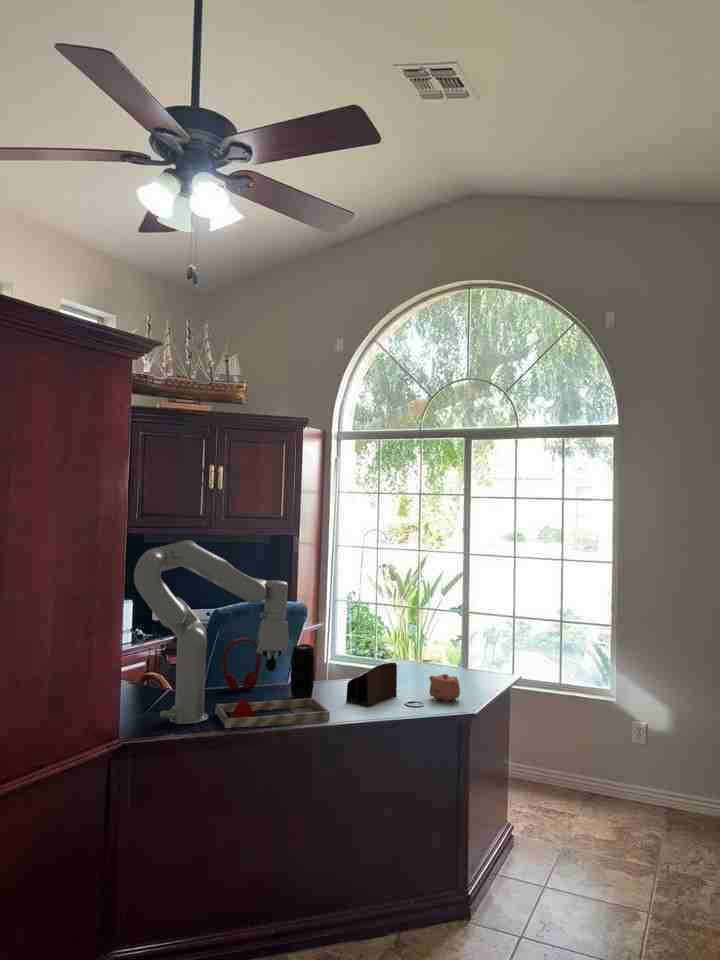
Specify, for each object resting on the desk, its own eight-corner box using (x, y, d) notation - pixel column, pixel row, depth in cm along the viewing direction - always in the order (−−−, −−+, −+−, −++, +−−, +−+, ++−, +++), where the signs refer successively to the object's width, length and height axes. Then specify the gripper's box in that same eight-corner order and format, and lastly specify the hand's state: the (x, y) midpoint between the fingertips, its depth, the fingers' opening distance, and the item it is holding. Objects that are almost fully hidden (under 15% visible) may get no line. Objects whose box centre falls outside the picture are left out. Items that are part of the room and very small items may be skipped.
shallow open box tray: (225, 729, 241) (226, 718, 241) (215, 713, 257) (215, 703, 257) (329, 720, 254) (329, 709, 254) (313, 706, 270) (313, 696, 270)
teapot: (430, 703, 279) (430, 677, 279) (428, 695, 291) (429, 670, 291) (461, 704, 278) (461, 679, 278) (458, 696, 290) (459, 671, 290)
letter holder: (396, 697, 287) (398, 660, 287) (367, 708, 271) (369, 669, 271) (375, 692, 293) (376, 656, 293) (345, 703, 276) (346, 665, 277)
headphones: (224, 694, 283) (226, 641, 283) (219, 689, 289) (221, 638, 289) (261, 690, 289) (263, 639, 290) (255, 686, 296) (257, 635, 296)
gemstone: (233, 726, 240) (257, 708, 245) (217, 709, 244) (241, 692, 250) (234, 742, 245) (258, 724, 251) (218, 725, 250) (242, 708, 256)
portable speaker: (287, 700, 277) (288, 647, 278) (294, 693, 286) (296, 642, 287) (309, 702, 275) (310, 649, 276) (316, 695, 284) (317, 644, 285)
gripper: (256, 618, 249) (251, 673, 249) (298, 619, 255) (294, 672, 254) (250, 614, 256) (246, 668, 256) (292, 615, 262) (288, 667, 261)
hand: (270, 670), depth 255 cm, fingers closed
